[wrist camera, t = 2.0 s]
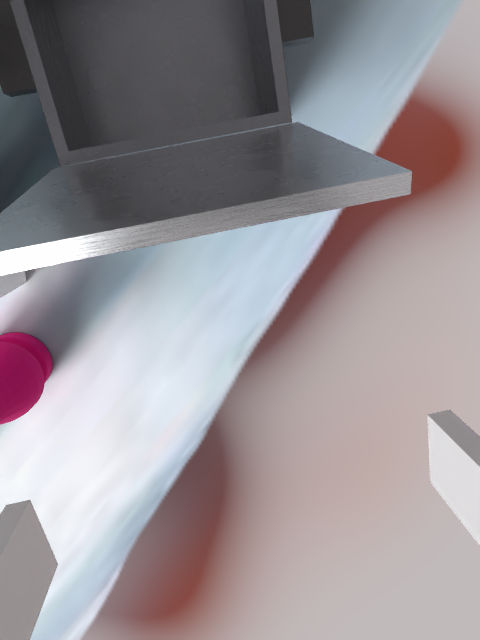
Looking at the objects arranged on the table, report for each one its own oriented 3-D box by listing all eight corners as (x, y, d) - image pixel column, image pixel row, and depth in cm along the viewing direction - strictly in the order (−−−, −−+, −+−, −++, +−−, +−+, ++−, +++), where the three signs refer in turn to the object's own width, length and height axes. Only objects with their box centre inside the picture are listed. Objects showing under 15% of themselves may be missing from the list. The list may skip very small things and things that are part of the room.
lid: (-61, 263, 14) (-21, 332, 15) (411, 171, 14) (407, 245, 16) (53, 168, 27) (69, 210, 29) (298, 122, 28) (301, 165, 29)
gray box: (-3, -48, 31) (-78, -134, 23) (268, -94, 32) (294, -195, 23) (65, 175, 36) (24, 173, 28) (296, 131, 37) (325, 115, 29)
